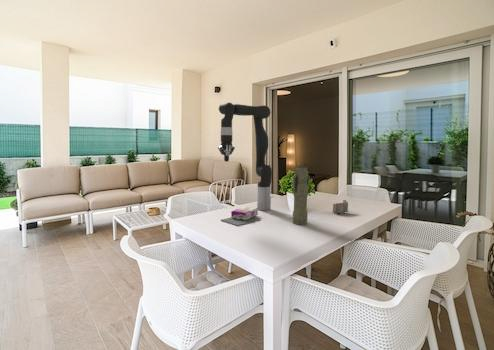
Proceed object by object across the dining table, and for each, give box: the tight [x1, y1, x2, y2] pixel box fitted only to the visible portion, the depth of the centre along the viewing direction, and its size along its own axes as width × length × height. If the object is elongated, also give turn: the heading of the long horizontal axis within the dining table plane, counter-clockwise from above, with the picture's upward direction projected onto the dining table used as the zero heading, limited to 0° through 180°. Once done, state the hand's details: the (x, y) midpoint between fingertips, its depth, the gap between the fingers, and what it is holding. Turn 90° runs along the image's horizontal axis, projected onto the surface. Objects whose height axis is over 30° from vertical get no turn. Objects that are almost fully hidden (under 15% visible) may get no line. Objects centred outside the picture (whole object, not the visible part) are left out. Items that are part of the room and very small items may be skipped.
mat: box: [220, 216, 262, 227], centre depth 185 cm, size 20×16×1 cm
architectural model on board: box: [332, 199, 349, 215], centre depth 205 cm, size 11×3×10 cm, turn 116°
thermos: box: [292, 166, 310, 226], centre depth 178 cm, size 9×12×35 cm
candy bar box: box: [230, 206, 259, 220], centre depth 191 cm, size 11×5×16 cm
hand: (226, 161), depth 190 cm, fingers closed
